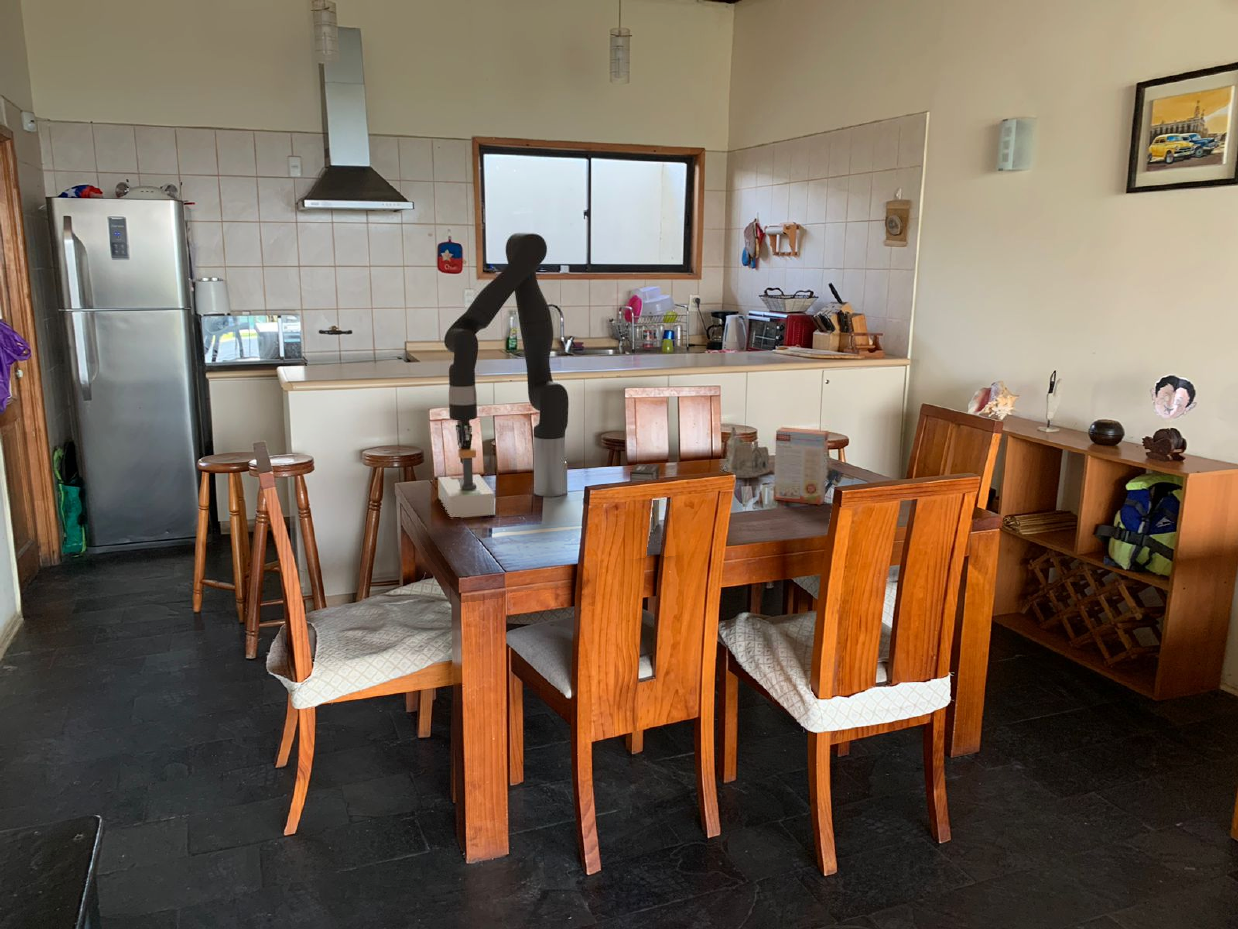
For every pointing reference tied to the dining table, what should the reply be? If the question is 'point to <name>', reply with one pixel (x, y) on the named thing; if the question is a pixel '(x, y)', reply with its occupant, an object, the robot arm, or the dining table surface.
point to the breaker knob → (467, 468)
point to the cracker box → (800, 465)
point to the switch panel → (466, 497)
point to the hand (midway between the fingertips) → (464, 462)
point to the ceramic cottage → (745, 457)
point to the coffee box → (647, 473)
